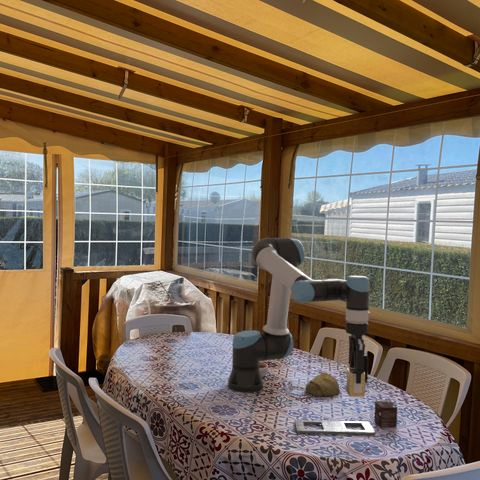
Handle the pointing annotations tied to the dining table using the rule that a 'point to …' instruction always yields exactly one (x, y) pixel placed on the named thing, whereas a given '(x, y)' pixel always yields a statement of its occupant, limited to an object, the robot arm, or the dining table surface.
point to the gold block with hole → (350, 384)
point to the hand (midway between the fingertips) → (355, 389)
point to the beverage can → (366, 366)
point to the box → (385, 414)
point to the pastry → (323, 385)
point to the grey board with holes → (335, 427)
